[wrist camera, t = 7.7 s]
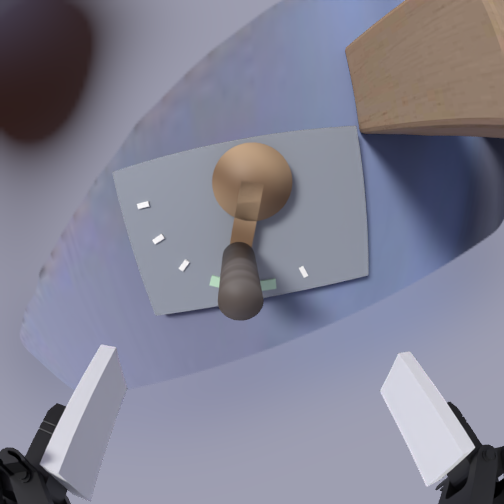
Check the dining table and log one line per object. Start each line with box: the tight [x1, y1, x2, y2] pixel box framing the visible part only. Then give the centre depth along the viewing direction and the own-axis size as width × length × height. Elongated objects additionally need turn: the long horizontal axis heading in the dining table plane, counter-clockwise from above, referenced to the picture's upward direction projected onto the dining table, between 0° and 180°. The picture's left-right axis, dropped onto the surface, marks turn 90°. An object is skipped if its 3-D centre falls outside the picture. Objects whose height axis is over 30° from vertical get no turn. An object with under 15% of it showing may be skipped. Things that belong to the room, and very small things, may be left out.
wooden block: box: [345, 0, 504, 138], centre depth 14 cm, size 10×10×20 cm
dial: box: [212, 142, 292, 320], centre depth 21 cm, size 15×7×9 cm, turn 170°
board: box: [112, 126, 368, 316], centre depth 27 cm, size 24×16×2 cm, turn 100°
